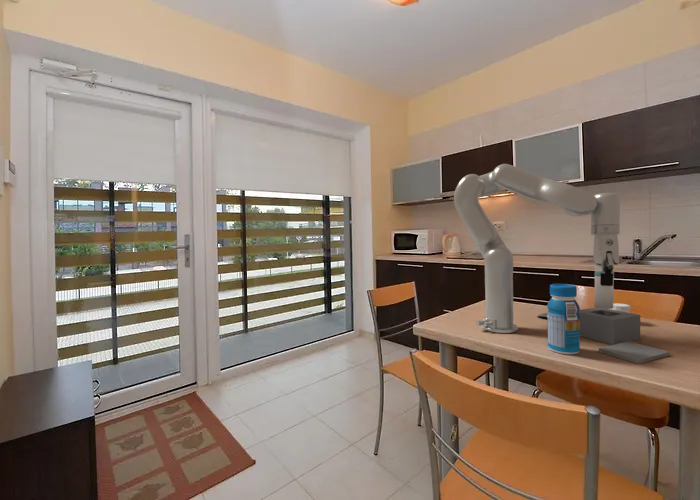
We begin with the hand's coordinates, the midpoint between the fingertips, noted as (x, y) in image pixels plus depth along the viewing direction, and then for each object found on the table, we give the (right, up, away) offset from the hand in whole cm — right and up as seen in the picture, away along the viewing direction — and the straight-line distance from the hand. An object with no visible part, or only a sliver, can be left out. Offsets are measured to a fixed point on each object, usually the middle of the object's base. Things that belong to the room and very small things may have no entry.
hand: (604, 283), depth 107 cm
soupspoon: (-4, -18, +18) cm, 26 cm away
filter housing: (+1, -18, +1) cm, 18 cm away
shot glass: (+18, -17, +15) cm, 29 cm away
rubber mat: (-3, -19, -15) cm, 24 cm away
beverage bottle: (-21, -19, -10) cm, 30 cm away
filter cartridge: (0, -8, 0) cm, 8 cm away
